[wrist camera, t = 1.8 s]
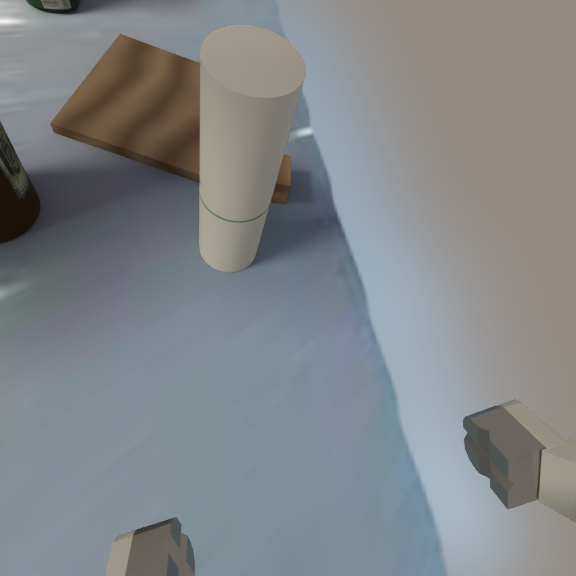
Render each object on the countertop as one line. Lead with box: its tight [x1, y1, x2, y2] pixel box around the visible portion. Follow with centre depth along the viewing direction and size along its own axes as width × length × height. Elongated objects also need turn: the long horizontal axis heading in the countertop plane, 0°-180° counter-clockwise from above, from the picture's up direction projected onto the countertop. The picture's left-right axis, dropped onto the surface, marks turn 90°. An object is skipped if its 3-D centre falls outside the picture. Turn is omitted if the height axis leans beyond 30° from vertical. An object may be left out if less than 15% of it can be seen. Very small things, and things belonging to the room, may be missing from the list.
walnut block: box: [271, 155, 291, 204], centre depth 52 cm, size 5×5×4 cm
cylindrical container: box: [199, 25, 306, 272], centre depth 37 cm, size 7×7×25 cm
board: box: [50, 34, 200, 182], centre depth 54 cm, size 20×20×2 cm
